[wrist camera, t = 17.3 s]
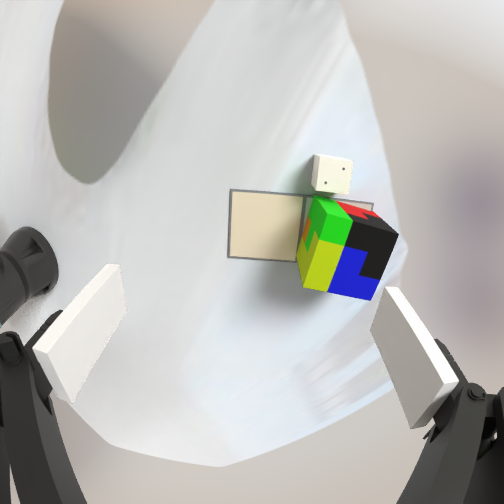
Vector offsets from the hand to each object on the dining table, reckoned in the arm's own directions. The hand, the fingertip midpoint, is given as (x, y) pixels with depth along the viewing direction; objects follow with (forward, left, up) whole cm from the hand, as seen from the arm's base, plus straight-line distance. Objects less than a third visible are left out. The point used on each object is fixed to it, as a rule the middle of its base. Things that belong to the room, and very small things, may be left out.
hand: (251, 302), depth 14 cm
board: (+6, -7, -31) cm, 32 cm away
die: (+10, +3, -31) cm, 33 cm away
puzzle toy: (+12, -7, -31) cm, 34 cm away
